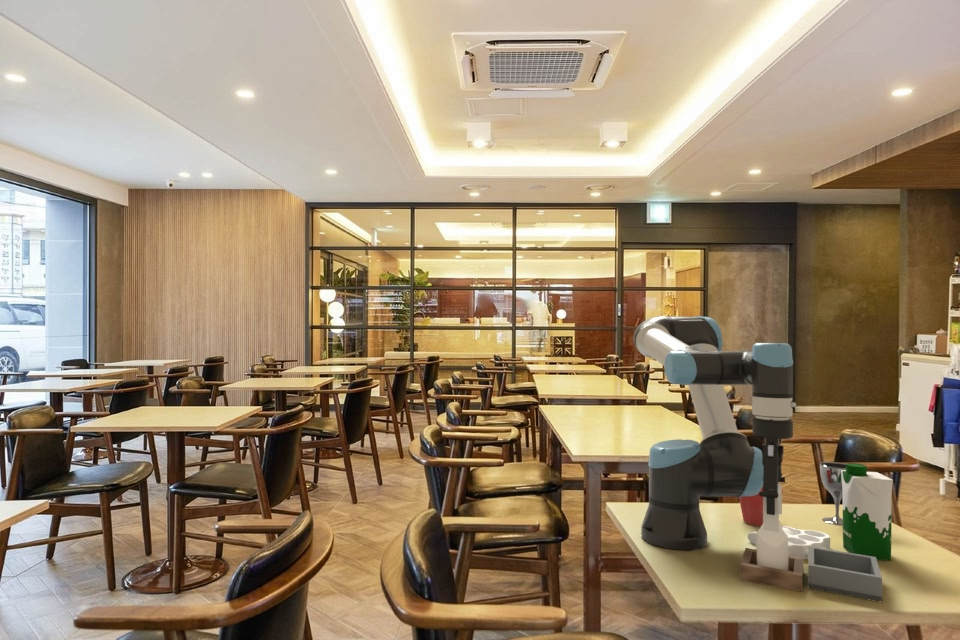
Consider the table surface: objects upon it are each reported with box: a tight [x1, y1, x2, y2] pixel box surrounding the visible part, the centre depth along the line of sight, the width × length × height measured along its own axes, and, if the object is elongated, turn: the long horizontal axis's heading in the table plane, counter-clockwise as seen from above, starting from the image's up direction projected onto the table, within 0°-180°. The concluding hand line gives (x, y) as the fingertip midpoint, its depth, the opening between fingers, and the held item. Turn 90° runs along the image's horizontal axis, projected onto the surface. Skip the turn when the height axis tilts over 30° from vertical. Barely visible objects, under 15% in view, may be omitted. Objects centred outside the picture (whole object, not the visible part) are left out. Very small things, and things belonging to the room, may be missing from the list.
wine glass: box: [819, 461, 847, 527], centre depth 158 cm, size 8×8×15 cm
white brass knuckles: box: [747, 525, 831, 560], centre depth 138 cm, size 3×18×15 cm
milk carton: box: [841, 462, 894, 562], centre depth 135 cm, size 9×9×20 cm
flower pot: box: [738, 487, 784, 528], centre depth 156 cm, size 11×11×10 cm
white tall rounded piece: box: [755, 520, 789, 571], centre depth 122 cm, size 6×12×6 cm
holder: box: [739, 547, 804, 593], centre depth 122 cm, size 11×11×3 cm
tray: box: [807, 546, 883, 602], centre depth 118 cm, size 12×12×4 cm
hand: (773, 521), depth 122 cm, fingers open, 13 cm apart
